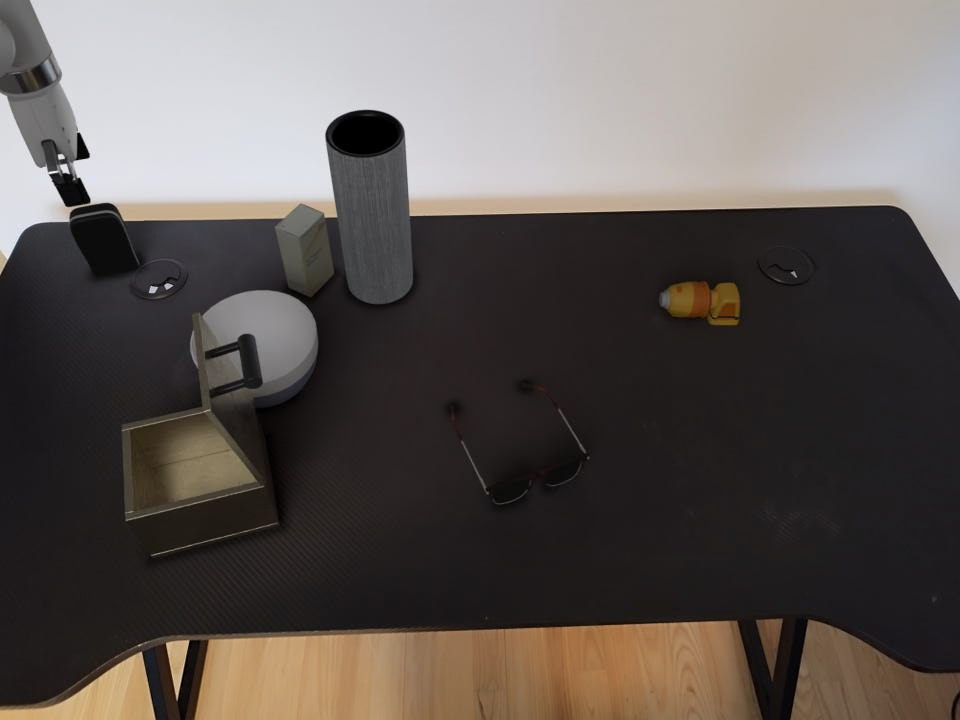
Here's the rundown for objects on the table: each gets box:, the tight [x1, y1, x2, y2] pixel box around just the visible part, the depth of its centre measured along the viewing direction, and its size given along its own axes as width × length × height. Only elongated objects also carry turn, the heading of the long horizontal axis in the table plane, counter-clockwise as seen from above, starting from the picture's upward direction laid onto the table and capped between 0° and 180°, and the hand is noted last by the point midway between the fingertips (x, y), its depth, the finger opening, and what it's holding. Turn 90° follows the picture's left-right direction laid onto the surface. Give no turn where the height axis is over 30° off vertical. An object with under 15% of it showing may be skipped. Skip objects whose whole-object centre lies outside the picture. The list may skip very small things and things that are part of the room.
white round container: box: [189, 289, 319, 409], centre depth 105 cm, size 16×16×10 cm
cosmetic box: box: [274, 202, 335, 298], centre depth 116 cm, size 6×4×12 cm
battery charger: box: [68, 202, 140, 278], centre depth 117 cm, size 7×4×11 cm, turn 109°
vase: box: [324, 109, 414, 305], centre depth 110 cm, size 10×10×27 cm
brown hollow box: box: [121, 406, 281, 559], centre depth 94 cm, size 15×13×10 cm
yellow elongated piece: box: [658, 280, 741, 326], centre depth 117 cm, size 5×6×12 cm
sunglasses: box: [450, 382, 590, 505], centre depth 102 cm, size 14×16×5 cm
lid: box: [191, 312, 267, 485], centre depth 85 cm, size 16×13×5 cm
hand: (78, 180), depth 109 cm, fingers open, 9 cm apart
